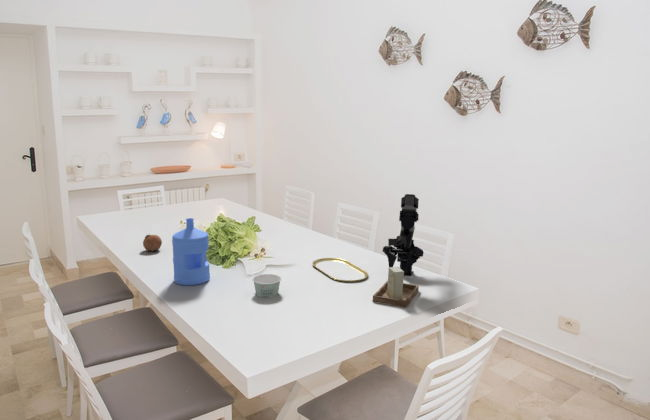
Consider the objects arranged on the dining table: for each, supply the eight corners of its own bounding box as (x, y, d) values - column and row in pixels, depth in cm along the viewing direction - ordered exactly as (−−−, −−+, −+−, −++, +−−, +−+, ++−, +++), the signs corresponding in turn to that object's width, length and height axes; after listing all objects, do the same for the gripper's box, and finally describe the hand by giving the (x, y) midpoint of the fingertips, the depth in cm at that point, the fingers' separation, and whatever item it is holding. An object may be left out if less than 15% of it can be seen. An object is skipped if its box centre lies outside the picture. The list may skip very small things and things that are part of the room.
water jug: (166, 282, 223) (163, 220, 217) (191, 272, 236) (188, 213, 230) (193, 288, 216) (191, 224, 210) (217, 277, 229) (215, 217, 223)
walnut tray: (387, 286, 223) (387, 280, 222) (418, 291, 217) (418, 285, 217) (372, 301, 205) (372, 295, 204) (406, 307, 199) (406, 301, 199)
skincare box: (386, 294, 211) (387, 267, 208) (396, 293, 212) (397, 266, 210) (393, 300, 205) (394, 272, 202) (402, 299, 206) (404, 271, 204)
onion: (145, 257, 267) (135, 241, 264) (155, 248, 275) (146, 232, 272) (158, 253, 263) (148, 237, 260) (168, 243, 271) (159, 228, 268)
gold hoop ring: (339, 286, 223) (340, 282, 223) (306, 263, 253) (306, 260, 253) (375, 280, 231) (375, 276, 231) (338, 259, 262) (338, 256, 261)
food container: (254, 299, 205) (254, 284, 203) (250, 289, 216) (250, 274, 215) (283, 297, 208) (283, 282, 206) (278, 287, 219) (278, 272, 218)
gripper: (378, 229, 223) (370, 263, 219) (411, 229, 209) (403, 264, 205) (394, 238, 230) (386, 271, 225) (427, 238, 216) (419, 273, 211)
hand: (398, 270), depth 216 cm, fingers open, 9 cm apart
